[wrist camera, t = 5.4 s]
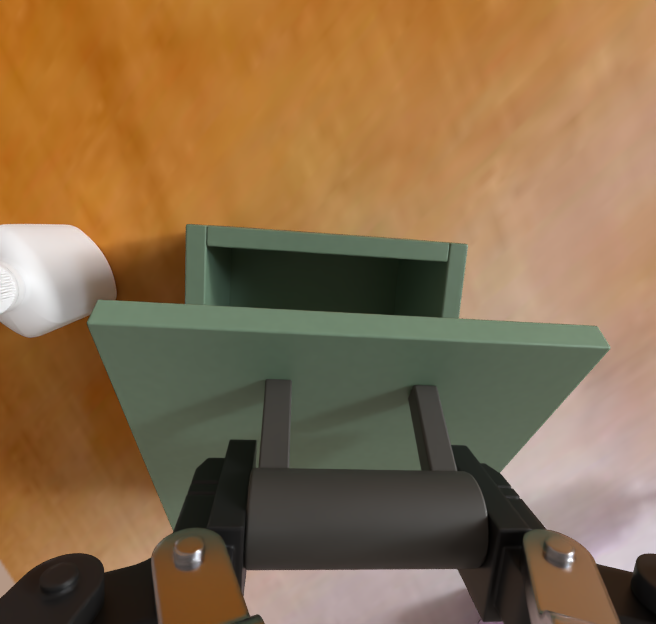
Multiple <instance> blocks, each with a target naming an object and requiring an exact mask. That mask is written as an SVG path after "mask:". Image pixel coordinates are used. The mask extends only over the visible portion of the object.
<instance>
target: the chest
mask: <svg viewBox="0 0 656 624" xmlns="http://www.w3.org/2000/svg"><path fill="white" fill-rule="evenodd" d="M467 248H468V245H467V244H461V243H449V242H437V241H425V240H413V239H399V238H385V237H371V236H357V235H343V234H329V233H315V232H301V231H287V230H272V229H258V228H244V227H230V226H214V225H194V224H187V225H186V258H185V304H192V305H211V306H230V307H249V308H268V309H287V310H305V311H324V312H343V313H362V314H381V315H400V316H418V317H437V318H456V319H459V312H460V304H461V296H462V288H463V280H464V272H465V264H466V256H467Z"/></svg>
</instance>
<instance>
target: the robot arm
mask: <svg viewBox="0 0 656 624" xmlns="http://www.w3.org/2000/svg"><path fill="white" fill-rule="evenodd" d="M451 447H452V451H453V455H454V459H455V463H456V467H457V471H465V472H467V473H469V474H471V475H472V476H473V477H474V478H475V480H476V481H477V483H478V485H479V487H480V489H481V491H482V494H483V497H484V500H485V504H486V508H487V514H488V521H489V547H488V553H487V557H486V559H485V561H484V563H483V564H482V565H481V566H480V567H478V568H476V569H458V571H459V573H460V575H461V577H462V579H463V581H464V583H465V585H466V588H467V590H468V592H469V594H470V596H471V598H472V600H473V602H474V604H475V606H476V608H477V611H478V613H479V615H480V617H481V619H482V621H483V622H503V624H656V554H643V555H640V556H639V557H638V558H637V560H636V563H635V567H634V571H633V572H629V571H624V570H620V569H616V568H612V567H607V566H603V565H599V564H596V563H595V560H594V558H593V557H592V555H591V554H590V553H589V551H588V550H587V549H586V548H585V547H583V546H582V545H581V544H580V543H578V542H577V541H575V540H574V539H572V538H570V537H568V536H566V535H564V534H561V533H558V532H555V531H552V530H546V528H545V527H544V526H543V525H542V523H541V522H540V521H539V520H538V519H537V517H536V516H535V515H534V514H533V512H532V511H531V510H530V509H529V508H528V506H527V505H526V504H525V503H524V501H523V500H522V499H520V498H519V495H518V494H517V493H516V492H515V491H514V489H511V486H510V484H509V483H508V482H507V481H506V480H505V478H504V477H503V476H502V475H501V474H500V473H499V472H497V471H496V470H494V469H493V468H491V467H490V466H488V465H487V464H485V463H480V462H479V461H478V460H477V458H476V457H475V456H474V455H473V453H472V452H471V451H470V449H469V448H468V447H467V446H466V445H451ZM256 452H257V440H240V439H230V441H229V444H228V448H227V452H226V456H225V458H207V459H206V460H205V461H204V462H203V463H202V464H201V465H200V466H198V467H197V468H196V471H195V473H194V476H193V479H192V482H191V484H190V487H189V490H188V494H187V495H186V498H185V501H184V503H183V506H182V509H181V512H180V514H179V517H178V520H177V523H176V525H175V528H174V531H173V533H172V534H170V535H168V536H167V537H165V538H164V539H163V540H162V541H160V542H159V543H158V545H157V546H156V547H155V549H154V551H153V553H152V557H151V558H150V559H148V560H146V561H144V562H141V563H139V564H136V565H133V566H129V567H125V568H121V569H117V570H113V571H109V572H105V573H104V567H103V564H102V563H101V561H100V560H99V559H97V558H96V557H94V556H92V555H88V554H82V553H73V554H66V555H62V556H58V557H55V558H52V559H50V560H47V561H45V562H43V563H41V564H40V565H38V566H36V567H35V568H33V569H32V570H30V571H29V572H28V573H27V574H26V575H24V576H23V577H22V578H21V579H20V580H19V581H18V582H17V583H16V584H15V585H14V586H13V587H12V588H11V589H10V590H9V591H8V592H7V593H6V594H5V595H3V596H2V597H1V598H0V624H265V623H264V621H263V619H262V618H261V616H260V615H258V614H257V615H254V616H251V617H250V615H249V612H248V609H247V606H246V603H245V600H244V597H243V596H244V587H245V579H246V569H245V567H244V535H245V520H246V506H247V495H248V486H249V479H250V473H251V470H252V469H253V468H256Z"/></svg>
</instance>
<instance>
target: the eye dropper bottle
mask: <svg viewBox="0 0 656 624" xmlns="http://www.w3.org/2000/svg"><path fill="white" fill-rule="evenodd" d="M116 297H117V290H116V284H115V280H114V276H113V273H112V270H111V268H110V266H109V263H108V261H107V260H106V258H105V256H104V255H103V253H102V252H101V250H100V249H99V248H98V246H97V245H96V244H95V243H94V242H93V241H92V240H91V239H90V238H89V237H88V236H87V235H86V234H85V233H84V232H82V231H81V230H80V229H78V228H77V227H74V226H72V225H56V224H4V225H0V322H1V323H3V324H4V325H5V326H7V327H8V328H10V329H11V330H13V331H14V332H16V333H18V334H20V335H22V336H25V337H29V338H32V337H38V336H41V335H44V334H46V333H49V332H51V331H54V330H56V329H58V328H61V327H63V326H65V325H68V324H70V323H72V322H75V321H77V320H79V319H82V318H84V317H86V316H89V315H91V312H92V310H93V308H94V306H95V304H96V302H97V300H116Z"/></svg>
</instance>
